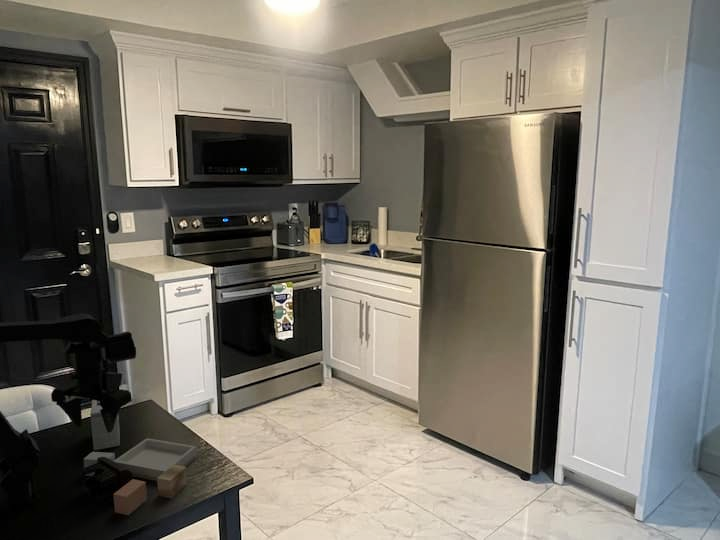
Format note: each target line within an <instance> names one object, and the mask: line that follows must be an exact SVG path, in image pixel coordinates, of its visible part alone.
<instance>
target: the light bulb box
mask: <svg viewBox="0 0 720 540" xmlns="http://www.w3.org/2000/svg"><path fill="white" fill-rule="evenodd" d="M101 409H103V408H102V407H101V406H100V401H96V400H91V409H90V414H89V416H90V423H91V424H90V425H91V434H92V445H93V451H99V450H105V449H108V448H114V447H118V446H119V447H120V442H121V441H120V438H121V437H120V436H121V435H120V434H121V433H120V418H119V417H120V416H119V413H118V414H117V417H116V421H115V424H114V427H113V430H112V432H110V433H108V432H107V429H106V427H105V424H104V421H103V418H102V415H101V412H100V410H101Z"/></svg>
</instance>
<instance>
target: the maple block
mask: <svg viewBox="0 0 720 540" xmlns="http://www.w3.org/2000/svg"><path fill="white" fill-rule="evenodd" d="M187 473H188V471H187V466H186V467H184V466H178V465H173V466H171V467H170V468H169V469H168V470H166V471H165V472H164V473H163V474H162V475H160V476H159V477H158V478H157V481H156V482H157V483H156V484H157V492H158V493H157V494H158V496H159V497H164V498H169V499H172V498H174V497H175V495H177V494H178V493H179V492H180V491H181V490H182V489H184V488H185V487H186V486H187V485H188V476H187V475H188V474H187Z"/></svg>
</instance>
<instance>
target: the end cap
mask: <svg viewBox="0 0 720 540" xmlns="http://www.w3.org/2000/svg"><path fill="white" fill-rule="evenodd" d="M97 461H98V462H97V463H95V464H92V465H90V466H88V467H86V468H84V467H83V468H82V469H81V476H86V474H90V473H92V472H94V471H95V474H94V475H93V476H89V477H87V478H85V479H83V480H82V486H83V489H84V493H85V494H86V495H88V496H89V497H90V498H92V499H93V500H95V501H97V503H99V504H100V505H102V506H107V505H108V504H110V503H112V502H113V503H114V495H113V494H114V493H116V492H117V491H118V490H119V489H121V488H122V487H123V486H125V485H126V484H127V483H129V482H130V481H131V480H132V479H134V476H133V474H132V472H131V471H129V470H128V469H126V468H124V467H123V466H121V465H119V464H117V463H116V462H114V461H112V460H110V459H109V458H107V457H99V458H97Z"/></svg>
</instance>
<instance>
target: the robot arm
mask: <svg viewBox="0 0 720 540" xmlns="http://www.w3.org/2000/svg"><path fill="white" fill-rule="evenodd" d="M101 329H102V328H101V325H100V322H98V320H97V319H95V318H94V317H93V316H91V315H90V314H88V313H77V314H73V315H72V314H71V315H65V316H64V317H60V318H58V319H51V320H30V321H29V320H27V321H9V322H8V321H7V322H6V321H5V322H0V343H7V342H9V343H10V342H13V343H14V342H24V341H25V342H26V341H27V342H28V341H41V340H42V341H43V340H58V341H59V340H61V341H66V342H68V343H67V344H66V345H65V346H64V347H63V348H62V352H64V354H65V355H70V354H71V355H73V356H72V357H73V365H74V373H72V374H71V375H70V379H71V380H75V382H67V383H64V384H62V385H60V386H57V387H56V388H54V389H53V390H52V392H51V394H50V398H51V402H53V403H55V404H56V406H59V407H60V408H61V410H62V411H63V412H64V413H65V414H66V416H67V417H68V418H69V419H70V421H71V422H72V423H73V424H74V426H75V428H78V429H79V428H81V427H82V425H83V424H82V422H83V421H82V419H83V417H82V402H83V400H84V399H85V400H89V401H90V400H91V401H92V400H96V401H100V406H101V407H102V408H103V409H101V410H100V412H101V415H102V418H103V421H104V424H105V427H106V429H107V432H108V433H110V432H112V430H113V427H114V424H115V421H116V417H117V414H118V415H119V412H120V409H122V408H123V407H125V406H126V405H128V404H129V403H131V402H132V392H130V390H127V389H120V388H115V389H113V390H111V389H112V388H111V387H113V386H114V387H121V386H122V380H123V373H121V372H113V371H108V369H107V368H106V367H105V368H104V367H103V364H102V358H103V361H108V363H109V364H114V363H115V364H116V363H120V362H123V361H125V362H126V361H129V360H133V359H136V357H137V348H136V346H135V342H134V341H135V340H134V339H133V336H132V335H133V333H132V332H130V331H123V332H121V333H116V334H111V335H110V334H109V335H108V334H106V333H105V332H104V331H101ZM91 342H92V343H91ZM109 390H111V391H109ZM105 391H109V392H105ZM0 451H1V455H3V458H2V459H1V461H0V512H2V513H3V512H4V513H7V514H11V515H16V514H18V513H20V512H22V511H23V510H24V509H26V508H28V507H29V506H31V505H32V504H34V503H35V502H37V501H38V500H41V495H40V494H37V489H36V482H35V481H36V480H35V477H34V476H33V472H34V471H35V470H36V469H37V468H38V466H39V464H40V461H41V460H40V455H39V454H40V453H41V451H40V447H39V445H38V442H37V441H36V440H35V439H34V438H32V437H31V436H30V433H29V431H28V429H24V430H23V431H22V432H20V431H18V430H16V428H14V427H13V425H12V424H11V423H10V422H9V420H8V419H7V417H6V416H5V414H4V413H3V412H2V411H1V410H0Z"/></svg>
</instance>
